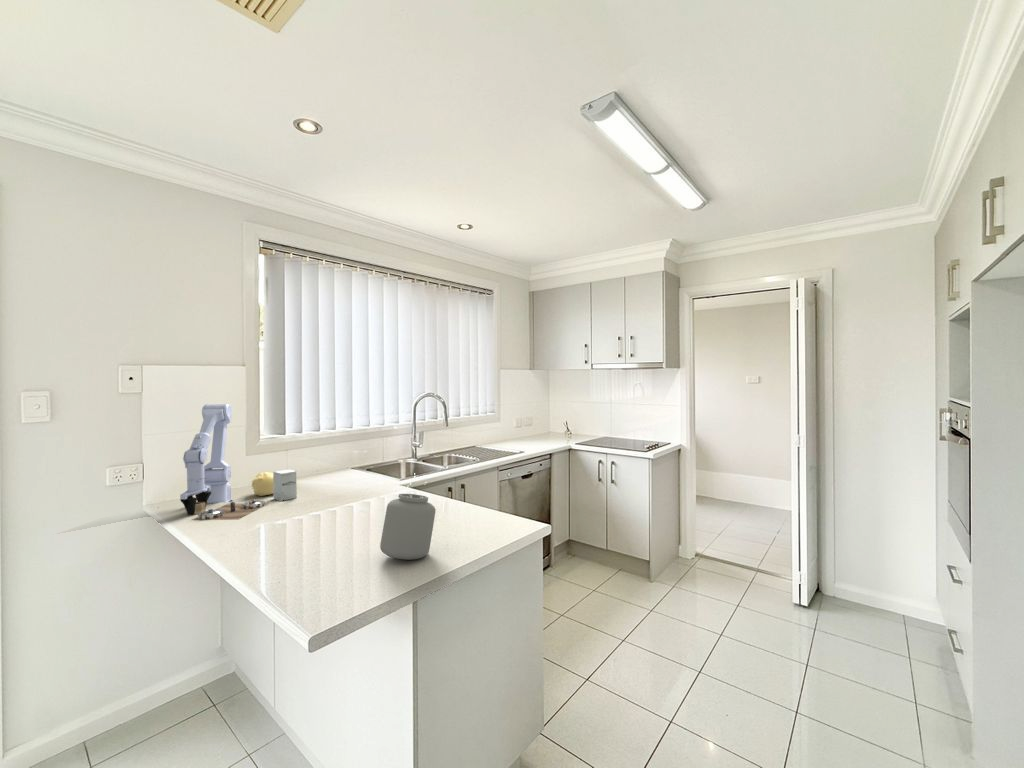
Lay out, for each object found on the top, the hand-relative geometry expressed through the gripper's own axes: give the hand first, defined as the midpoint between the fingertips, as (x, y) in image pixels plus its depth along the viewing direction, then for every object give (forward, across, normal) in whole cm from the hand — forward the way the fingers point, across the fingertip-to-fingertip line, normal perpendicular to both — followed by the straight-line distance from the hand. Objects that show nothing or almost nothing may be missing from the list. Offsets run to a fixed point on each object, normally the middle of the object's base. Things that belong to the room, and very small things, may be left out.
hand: (196, 512), depth 178 cm
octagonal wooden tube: (+1, 0, 0) cm, 1 cm away
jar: (+2, -43, -96) cm, 105 cm away
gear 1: (0, -6, -10) cm, 11 cm away
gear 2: (0, +8, -18) cm, 20 cm away
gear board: (+1, +1, -14) cm, 14 cm away
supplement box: (+2, +25, -23) cm, 34 cm away
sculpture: (+2, +33, -10) cm, 35 cm away
